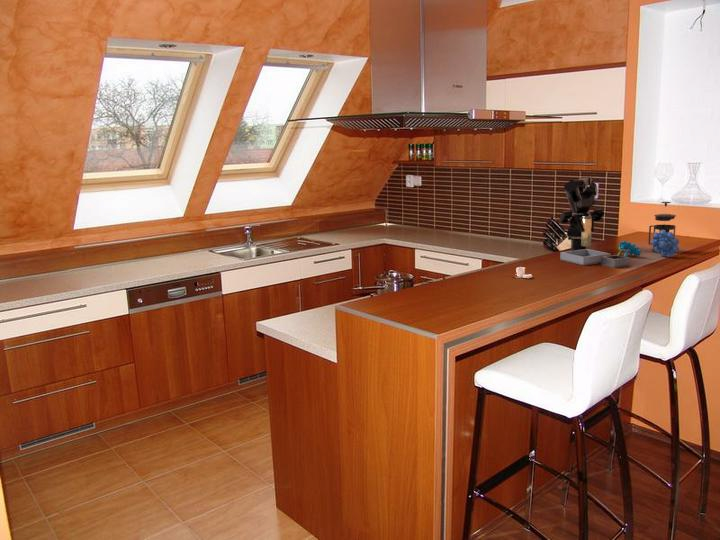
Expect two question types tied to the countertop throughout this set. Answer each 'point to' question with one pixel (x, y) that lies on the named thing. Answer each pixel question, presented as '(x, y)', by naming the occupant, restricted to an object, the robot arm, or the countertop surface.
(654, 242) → the grapes
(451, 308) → the countertop surface
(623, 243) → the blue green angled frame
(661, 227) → the french press
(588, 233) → the capped labeled canister
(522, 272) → the teacup and saucer
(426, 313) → the countertop surface
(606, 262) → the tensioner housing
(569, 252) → the tray
